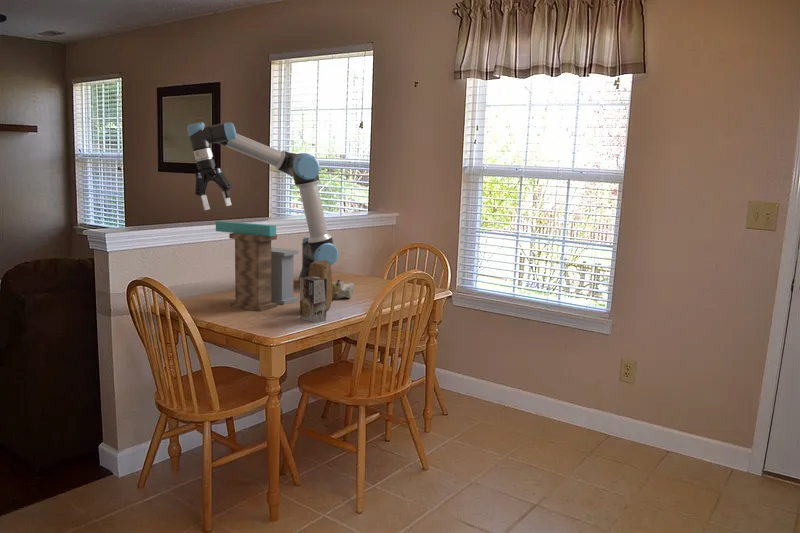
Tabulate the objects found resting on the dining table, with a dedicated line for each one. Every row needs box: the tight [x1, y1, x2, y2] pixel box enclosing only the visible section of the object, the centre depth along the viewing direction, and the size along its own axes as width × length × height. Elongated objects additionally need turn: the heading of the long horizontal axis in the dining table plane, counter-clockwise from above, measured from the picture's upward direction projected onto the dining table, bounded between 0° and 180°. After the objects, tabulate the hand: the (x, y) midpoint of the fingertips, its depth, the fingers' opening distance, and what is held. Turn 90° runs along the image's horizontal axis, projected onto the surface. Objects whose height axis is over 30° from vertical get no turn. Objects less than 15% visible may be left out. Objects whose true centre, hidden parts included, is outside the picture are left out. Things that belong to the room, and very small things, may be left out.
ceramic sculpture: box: [332, 279, 355, 300], centre depth 275 cm, size 11×9×15 cm
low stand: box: [271, 247, 300, 305], centre depth 266 cm, size 16×10×22 cm, turn 63°
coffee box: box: [299, 276, 327, 323], centre depth 235 cm, size 9×6×16 cm
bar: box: [215, 220, 277, 236], centre depth 251 cm, size 28×4×4 cm, turn 63°
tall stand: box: [228, 232, 278, 312], centre depth 252 cm, size 16×10×30 cm, turn 63°
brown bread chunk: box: [309, 260, 334, 312], centre depth 251 cm, size 11×8×20 cm
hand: (217, 207), depth 270 cm, fingers open, 13 cm apart
